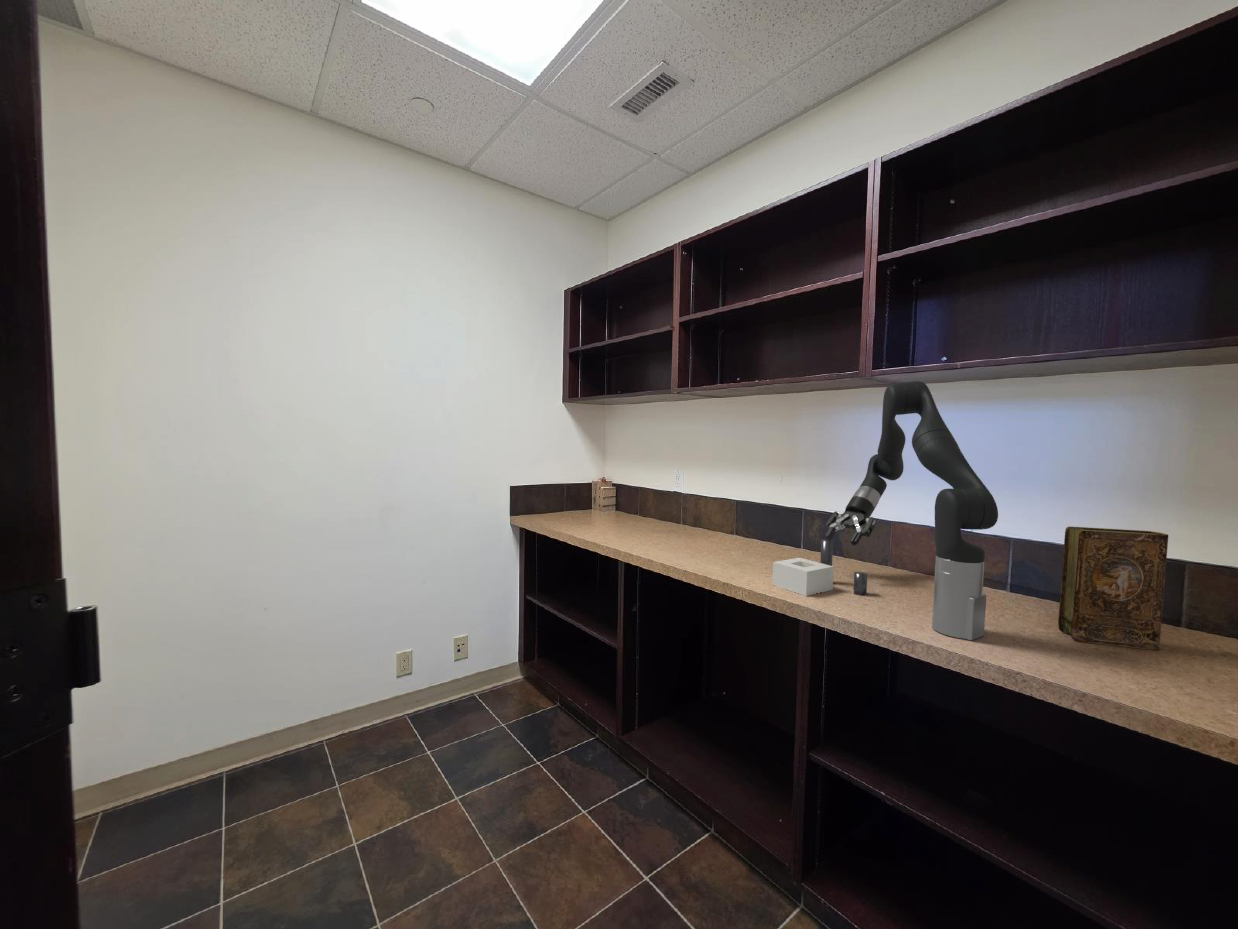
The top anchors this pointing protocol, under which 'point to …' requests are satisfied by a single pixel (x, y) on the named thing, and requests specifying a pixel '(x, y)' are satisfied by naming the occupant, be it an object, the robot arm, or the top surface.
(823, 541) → the long pin
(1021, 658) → the top surface
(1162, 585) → the book
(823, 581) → the hole block
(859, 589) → the short pin
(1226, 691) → the top surface
